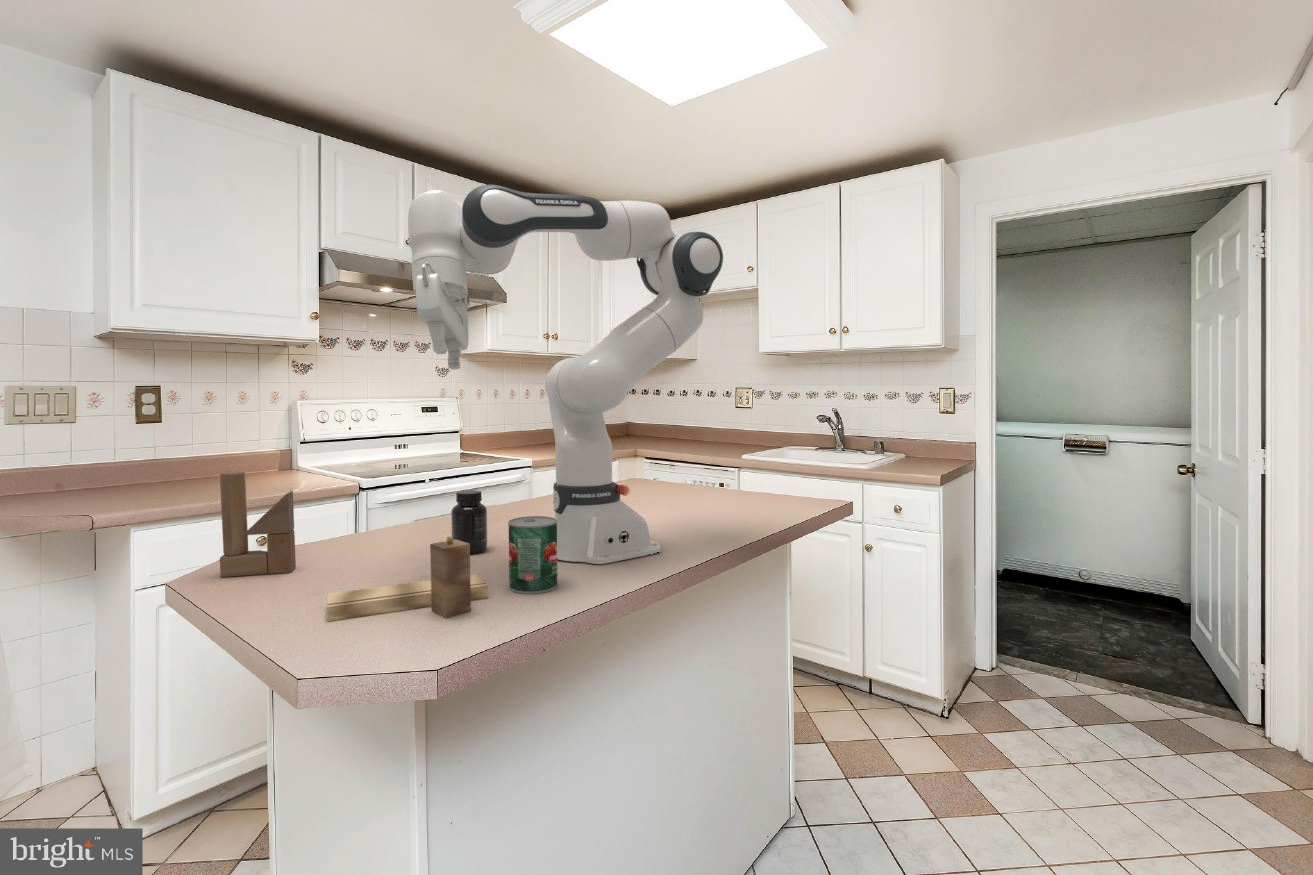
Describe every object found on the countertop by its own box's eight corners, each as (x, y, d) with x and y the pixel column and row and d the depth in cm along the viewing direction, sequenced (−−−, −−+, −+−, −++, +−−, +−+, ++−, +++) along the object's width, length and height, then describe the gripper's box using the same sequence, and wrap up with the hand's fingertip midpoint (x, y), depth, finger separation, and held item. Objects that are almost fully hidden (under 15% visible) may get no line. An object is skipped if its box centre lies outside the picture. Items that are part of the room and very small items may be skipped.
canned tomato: (564, 589, 100) (564, 522, 100) (517, 597, 96) (516, 527, 96) (548, 576, 107) (547, 514, 106) (503, 583, 103) (502, 518, 103)
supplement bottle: (485, 545, 129) (484, 488, 128) (489, 553, 123) (488, 493, 122) (450, 548, 126) (449, 490, 125) (453, 556, 120) (452, 495, 119)
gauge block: (456, 604, 93) (455, 532, 92) (470, 610, 90) (469, 536, 89) (431, 611, 90) (430, 537, 89) (445, 618, 87) (444, 541, 87)
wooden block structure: (290, 573, 109) (287, 471, 107) (219, 578, 105) (214, 473, 104) (296, 567, 112) (292, 469, 111) (227, 572, 109) (223, 471, 108)
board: (479, 586, 102) (478, 573, 102) (487, 597, 96) (487, 584, 96) (328, 606, 92) (327, 592, 91) (327, 621, 86) (327, 606, 86)
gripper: (443, 255, 96) (451, 339, 94) (471, 303, 116) (478, 374, 114) (401, 259, 96) (409, 344, 94) (437, 307, 116) (444, 378, 114)
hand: (447, 361), depth 104 cm, fingers open, 8 cm apart
